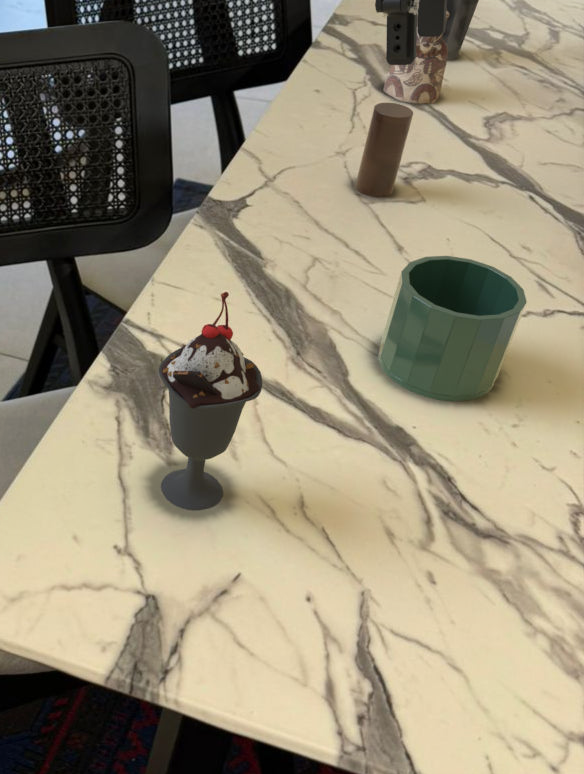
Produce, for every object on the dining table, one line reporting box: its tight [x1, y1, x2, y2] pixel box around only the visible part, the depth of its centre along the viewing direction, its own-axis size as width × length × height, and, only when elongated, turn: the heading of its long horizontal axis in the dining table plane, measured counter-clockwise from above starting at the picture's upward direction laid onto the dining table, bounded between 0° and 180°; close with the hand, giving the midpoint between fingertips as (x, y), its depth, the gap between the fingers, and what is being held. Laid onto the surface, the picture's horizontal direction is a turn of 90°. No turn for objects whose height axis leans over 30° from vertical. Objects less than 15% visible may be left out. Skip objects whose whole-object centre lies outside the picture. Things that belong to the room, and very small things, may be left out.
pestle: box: [354, 102, 414, 199], centre depth 108 cm, size 4×4×9 cm
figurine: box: [383, 7, 449, 104], centre depth 130 cm, size 7×7×12 cm
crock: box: [377, 255, 528, 402], centre depth 83 cm, size 10×10×8 cm
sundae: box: [158, 291, 263, 512], centre depth 67 cm, size 7×7×15 cm
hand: (416, 49), depth 85 cm, fingers open, 8 cm apart
